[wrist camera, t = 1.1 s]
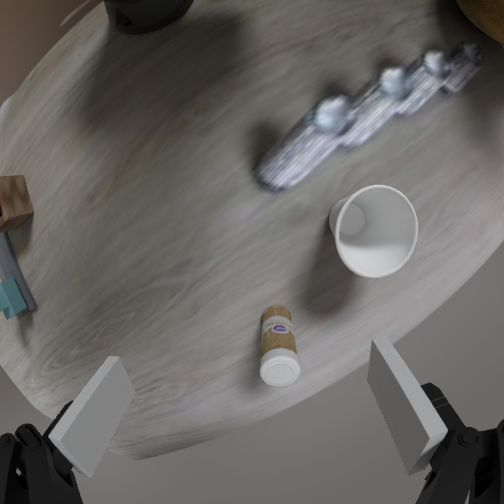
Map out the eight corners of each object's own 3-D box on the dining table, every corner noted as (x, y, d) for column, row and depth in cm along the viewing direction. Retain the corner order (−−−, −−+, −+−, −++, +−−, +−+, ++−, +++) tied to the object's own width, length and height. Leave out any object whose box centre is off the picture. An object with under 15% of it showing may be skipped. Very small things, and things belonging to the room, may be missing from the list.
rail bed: (-15, 220, 39) (-24, 222, 36) (-2, 203, 38) (-12, 205, 35) (22, 315, 44) (14, 320, 41) (37, 306, 43) (28, 312, 40)
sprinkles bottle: (289, 302, 40) (299, 354, 27) (292, 328, 41) (303, 385, 28) (258, 307, 40) (256, 360, 27) (263, 332, 42) (262, 391, 29)
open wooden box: (7, 193, 37) (-17, 196, 31) (23, 175, 37) (-2, 177, 30) (17, 227, 39) (-7, 235, 32) (34, 212, 38) (8, 217, 31)
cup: (359, 265, 38) (389, 293, 28) (302, 233, 38) (317, 253, 27) (391, 206, 36) (431, 216, 25) (335, 170, 35) (363, 166, 25)
